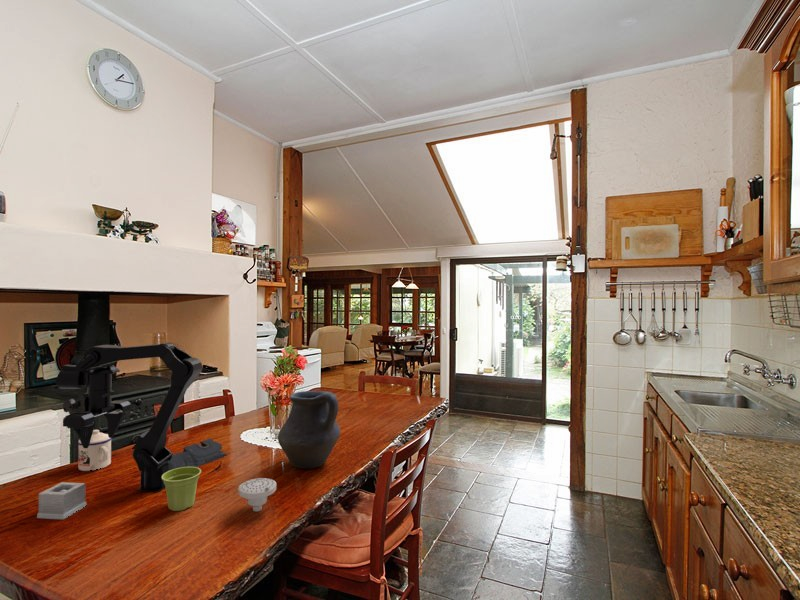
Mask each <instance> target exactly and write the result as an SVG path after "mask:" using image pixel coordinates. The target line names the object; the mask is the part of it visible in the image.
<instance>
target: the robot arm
mask: <svg viewBox="0 0 800 600" xmlns="http://www.w3.org/2000/svg"><path fill="white" fill-rule="evenodd" d="M149 358H159V359H160V360H162V363H164V364H165V366H166V368H168V369H169V370H170V371H171V374H170V385H169V389H168V391H167V393H166V395H165V397H164V399H163V401H162V404H161V405H160V408H159V410H158V411H157V414H156V416H155V418H154V420H153V422H152V424H151V426H150V428H149V429H148V430H146V431H144V432H142V433H141V434H138V436H137V438H136V441H135V443H134V446H133V447H131V450H133V451H132V458H133V460H134V461H135V462H136V465H137V468H138V471H139V472H140V478H139V479H140V482H139V483H140V484H139V485H140V487H139V488H137V491H138V492H157V493H158V492H161V491H162V490H164V489H166V488H165V485H164V481H163V480H162V475H163V474H164V473H166V472H168V471H169V464H167V462H168V461H170V460H171V458H172V455H173V454H174V453H172V451H171V450H170V449H168V447H166V444H167V441H168V437H167V435H168V434H167V433H168V430H169V428H170V426H171V423H172V422H173V420H174V417H175V415H176V413H177V411H178V409H179V407H180V405H181V402H182V401H183V398H184V396H185V394H186V392H187V391H188V389H189V387H190V386H191V385H192V384H193V383H194V382H196V380H197V378H198V377H199V375H200V374H201V373H202V371H203V367H204V366H203V363H202V362H201V360H200V359H198V357H193V356H192V355H190V354H189V353H188V352H187V351H184V350H183V349H180V348H179V347H177V346H176V345H175V344H173V343H171V342H163V343H157V344H145V345H144V344H143V345H142V344H141V345H133V346H132V345H131V346H122V345H116V344H115V345H114V344H101V345H96V346H90V347H88V348H87V349H86V350H85V351H84V353H83V357H82V358H80V360H79V362H78V363H77V364H76V365H73V364H64V365H62V366H61V370H60V371H59V372H58V374H57V377H56V378H55V384H56V386H57V388H58V389H60V390H61V389H63V390H67V389H69V390H72V389H73V390H77V389H80V390H82V389H85V388H86V387H87V391H86V392H85V393H83V394H82V398H81V399H78V400H75V399H74V398H70V399H67V400H63V403H62V410H63V412H64V413H68V415H65V417H63V418H62V427H66V428H67V429H72V430H73V431H74V432H75V433H76V435H77V437H78V438H79V439H78V440H80V441H81V443H82V446H83V448H88V447H89V444H90V440H91V437H92V433H93V430H95V423H94V421H95V418H98V417H101V416H104V417H105V418H106V424H107V434H108V437H109V438H112V439H113V437H114V435H116V432H117V431H118V429H119V427H120V425H121V423H122V421H123V420H124V418H125V416H127V415H128V413H129V411H131V410H132V409H131V408H132V404H131V402H130V401H128V400H113V401H112V396H114V395H115V394H116V390H112V385H113V384H112V381H113V380H112V379H113V376H112V375H113V374H116V373H119V372H121V370H120V369H119V368H118V367H117V366H115V364H114V363H116V362H121V361H127V360H140V359H149ZM112 363H113V364H112ZM104 365H107V367H106V366H105V367H101V366H104ZM94 368H95V369H94ZM92 369H93V370H92Z"/></svg>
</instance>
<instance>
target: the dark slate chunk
mask: <svg viewBox="0 0 800 600" xmlns="http://www.w3.org/2000/svg"><path fill="white" fill-rule="evenodd" d="M222 448H223V445H222V444H221V443H220V442H218V441H215V440H213V439H212V438H207V439H205V440H202V441H199V443H193V444H191V445H185V446H184V447H183V450H182V451H181V452H176V453H173V455H172V458H171V460H170V461H168V462H167V464H169V471H170V470H173V469H176V468H181V467H197V468H199V467H202V466H205V465H207V464H210V463H212V462H215V461H218V460H220V459H223V458H225V457H224V456H226V457H227V456H228V455H227V453H226V452H224V451H222ZM222 457H223V458H222ZM219 458H220V459H219ZM214 460H215V461H214ZM209 462H210V463H209ZM206 463H207V464H206ZM204 464H205V465H204ZM201 465H202V466H201ZM198 466H199V467H198Z"/></svg>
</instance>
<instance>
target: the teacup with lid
mask: <svg viewBox="0 0 800 600" xmlns="http://www.w3.org/2000/svg"><path fill="white" fill-rule="evenodd" d="M112 439H113V437H112V438H109V437H108V433H104V432H100V430H99V429H93V433H92V437H91V440H90V444H89V447H88V448H83V446H82V443H81V441H80V439H78V442H77V445H78V457H77V458H78V459H77V460H78V461H77V462H78V467H77V468H78V470H79V471H82V472H91V471H90V470H92V471H97V470H96V469H98V470H101V469H103V468H106V467H108V466H110V464H111V463H112ZM100 468H101V469H100Z"/></svg>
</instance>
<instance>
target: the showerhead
mask: <svg viewBox="0 0 800 600" xmlns="http://www.w3.org/2000/svg"><path fill="white" fill-rule="evenodd" d="M276 491H277V482H276V481H275V480H274V479H272V478H265V477H258V478H253V479H249V480H245V481H244V482H243V483H241V484H240V485H239V486H238V495H239V496H240V497H241V498H244V499H247V504H248V505H249V506H251V507H252V511H253V512H260V511H262V509H263V505H264V504H266V503H267V502H268V496H271V495H272V494H274V493H275V492H276Z"/></svg>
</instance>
